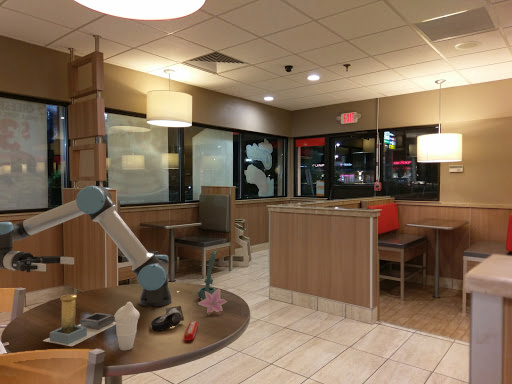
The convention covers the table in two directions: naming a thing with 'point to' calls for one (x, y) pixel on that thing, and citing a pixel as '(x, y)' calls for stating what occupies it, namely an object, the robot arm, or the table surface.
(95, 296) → the table surface
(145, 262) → the robot arm
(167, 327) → the caster wheel
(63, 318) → the brass peg
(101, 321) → the frame
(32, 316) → the table surface
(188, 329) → the candy bar
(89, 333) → the mounting plate
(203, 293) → the dark curved piece
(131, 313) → the soft serve ice cream cone
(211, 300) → the lily
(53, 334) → the collar
